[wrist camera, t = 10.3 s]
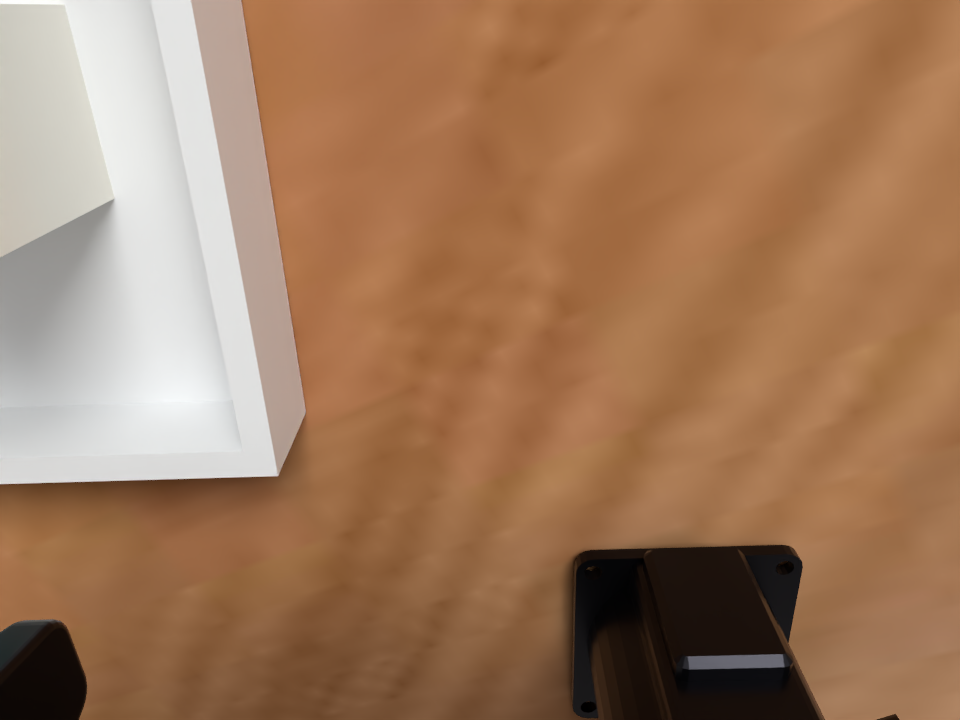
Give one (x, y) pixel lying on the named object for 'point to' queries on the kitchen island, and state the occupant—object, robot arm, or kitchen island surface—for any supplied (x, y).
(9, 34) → the block
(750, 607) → the robot arm
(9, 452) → the tray
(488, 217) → the kitchen island surface
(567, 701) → the kitchen island surface
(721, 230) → the kitchen island surface
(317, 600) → the kitchen island surface
